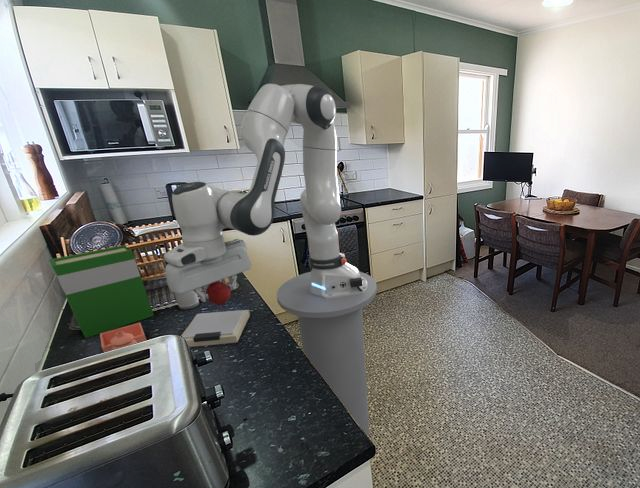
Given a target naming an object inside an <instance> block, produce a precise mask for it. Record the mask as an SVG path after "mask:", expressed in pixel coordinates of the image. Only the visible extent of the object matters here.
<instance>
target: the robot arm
mask: <svg viewBox="0 0 640 488" xmlns="http://www.w3.org/2000/svg"><path fill="white" fill-rule="evenodd" d="M336 115H337V103H336V99H335V97H334V95H333V93H332V91H330V90H329V89H327V88H325V87H323V86H320V85H312V84H311V85H310V84H304V83H296V84H285V83H279V84H276V83H266V84H265V83H264V84H263V85H262V86H261V87H260V88H259V90H258V91H257V92H256V94H255V95H254V97H253V98H252V100H251V102H250V104H249V106H248V108H247V110H246V112H245V114H244V117H243V119H242V122H241V124H240V131H239V134H240V137H241V140H242V142H243V144H244V145H245V146H246V148H247V149H248V150H250V151H251V152H252V153H253V154H254V155H255V157H256V167H255V171H254V174H253V177H252V182H251V185H250V187H249V190H248V191H247V192H246V193H241V192H236V191H231V190H226V189H222V188H218V187H214V186H211V185H209V184H208V183H206V182H204V181H192V182H187V183H182V184H180V185H178V186H176V187H175V188H174V189H173V191H172V194H171V201H172V207H173V212H174V213H173V214H174V217H175V220H176V223H177V225H178V227H179V228H180V231H181V240H182V243H180V244H179V245H177V246H175V247H173V248H172V249H171V250H169V251H167V252H166V253H164V254H163V257H164V259H165V260H164V259H163V260H164V262H165V261H166V262H168V264H167V266H166V265H165V269H164V274H165V279H166V284H167V288H168V289H169V291H170V292H172V293H173V294H175V293H176V294H178V295H181V294H184V293H187V292H189V291H192V290H193V291H194V292H195V293H197V296H199V297H198V298H199V300H200V301H201V302H203V303H205V302H208V301H209V298H208V297H209V296H208V294H206V292H203V293H202V292H201V291H203V288H204V287H205V286H209V285H210V284H211V283H214V282H217V281H219V282H220V281H222V280H224V279H227V278H229V280H228V283H226V285H227V286H228V287H229V288H230V291H231V292H232V291H234V290H236V286H235V284H236V282H237V280H238V274H241V273H244V272H246V271H249V270H251V267H252V261H251V258H250V255H249V253H248V251H247V243H246V242H245V241H244V240H242V239H240V238H235V239H232V240H230V241H229V240H228V241H225V238H224V234H223V230H224V229H230V230H234V231H238V232H240V233H243V234H245V235H248V236H252V237H255V236H260V235H261V234H264V233H266V232H267V231H268V230H269V228H270V227H271V225H272V224H273V221H274V215H275V202H276V197H277V193H278V188H279V185H280V182H281V178H282V173H283V170H284V166H285V161H286V150H285V142H286V138H287V135H288V133H289V130H290V127H291V124H297V125H301V126H302V130H303V132H302V172H303V178H304V183H305V188H304V189H303V191H302V192H301V194H300V198H299V202H300V203H299V204H300V208H301V213H302V218H303V223H304V228H305V232H306V237H307V245H308V252H309V255H308V266H309V270H310V272H311V284H310V289H309V290H310V292H311V293H312V294H314V295H317V296H321V297H322V298H324V299H331V298H337V297H343V296H349V295H355V294H361V293H364V292H365V291H366V290H367V281H366V279H365V278H363V277H361V275H360V272H361V271H360V270H359V269H358V268H357V267H356V266H354V265H352V264H350V263H348V262H347V261H348V260H347V258H346V255H345V252H342V253H341V252H340V241H339V232H338V230H337V226H336V223H337V222H338V221H339V219H340V218H341V216H342V206H341V203H340V191H339V185H338V184H339V183H338V176H337V175H338V174H337V156H338V155H337V153H338V152H337V151H338V150H337V149H338V143H337V142H338V141H337V132H336V124H335V118H336ZM202 287H203V288H202Z"/></svg>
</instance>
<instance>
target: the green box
mask: <svg viewBox="0 0 640 488" xmlns="http://www.w3.org/2000/svg"><path fill="white" fill-rule="evenodd" d="M48 260H49V263H50V265H51V268H52V269H53V272H54V274H55V276H56V279H57V281H58V283H59V285H60V287H61V289H62V290H63V293H64V296H65V298H66V300H67V302H68V306H69V307H70V309H71V312H72V313H73V315H74V318H75V319H76V322H77V324H78V326H79V328H80V331H81V333H82V335H83V336H84V338H85V339H87V338H90V337H93V336H96V335H100V334H101V333H104V332H108V331H111V330H115V329H118V328H122V327H125V326H128V325H131V324H134V323H137V322H140V321H142V320H144V319H145V320H146V319H148V318H151V317H154V316H155V313H154V310H153V309H152V304H151V301H150V300H149V297H148V293H147V291H146V287H145V285H144V282H143V279H142V276H141V274H140V270H139V268H138V265H137V262H136V258H135V255H134V253H133V250H132V249H128V248H127V245H126V244H123V245H122V244H121V245H117V246H112V247H107V248H102V249H97V250H91V251H86V252H81V253H77V254H76V253H75V254H71V255H65V256H61V257H56V258H51V259H48Z"/></svg>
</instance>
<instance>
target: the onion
mask: <svg viewBox="0 0 640 488" xmlns="http://www.w3.org/2000/svg"><path fill="white" fill-rule="evenodd" d="M226 284H227V283H226ZM226 284H225V283H224V282H223V281H220V280H219V281H217V282H214V283H211V284H208V285H207V287H206V290H205V293H206V294H208V296H209V297H208V298H209V300H208V302H210V303H212V304H214V305H217V306H223V305H224V304H225V303H227V302H228V301H229V300H230V298H231V295H232V293H231V292H232V291H230V288H229V287H228V286H227V285H226Z"/></svg>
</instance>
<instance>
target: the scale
mask: <svg viewBox="0 0 640 488" xmlns="http://www.w3.org/2000/svg"><path fill="white" fill-rule="evenodd" d="M250 316H251V313H250V310H249V309H240V310H239V309H238V310H226V311H213V312H203V313H202V312H201V313H196V315H195V316H194V318H193V319H192V321H191V322H190V323H189V325H187V327H186V328H185V330H184V331H183V332H182V334H181V335H180V337H181V336H182V337H183V338H184V339H185V340H186V342H187V344H188V346H189V347H188V348H194V347H204V346H214V345H225V344H235V343H238V341H239V340H240V338H241V336H242V333H243V331H244V330H245V327H246V325H247V323H248V320H249V319H250Z"/></svg>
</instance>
